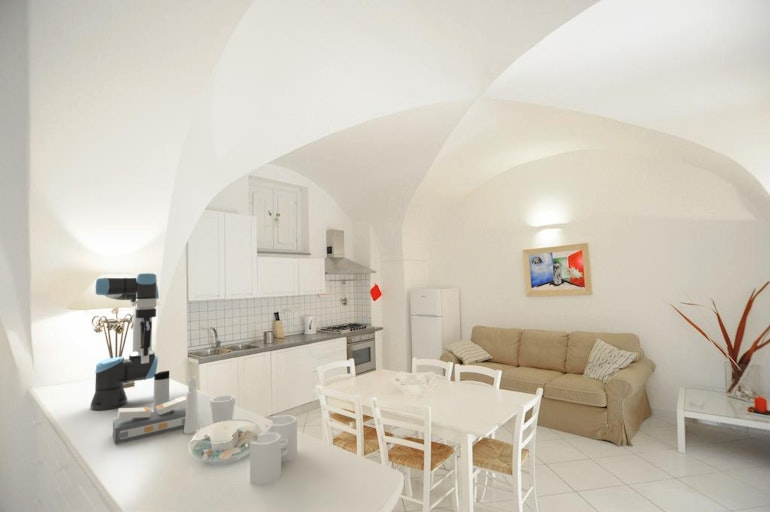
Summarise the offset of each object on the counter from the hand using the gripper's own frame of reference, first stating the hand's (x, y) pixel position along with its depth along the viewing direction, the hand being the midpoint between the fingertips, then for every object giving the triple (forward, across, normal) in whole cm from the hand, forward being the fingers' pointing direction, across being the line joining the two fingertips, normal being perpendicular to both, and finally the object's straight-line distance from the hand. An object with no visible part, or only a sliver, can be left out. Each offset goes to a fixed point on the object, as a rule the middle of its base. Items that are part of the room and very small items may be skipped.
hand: (145, 362), depth 165 cm
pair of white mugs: (+25, +73, +28) cm, 82 cm away
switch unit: (+27, +9, +2) cm, 28 cm away
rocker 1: (+19, +8, -5) cm, 21 cm away
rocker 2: (+19, +9, +9) cm, 23 cm away
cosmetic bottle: (+27, +21, +14) cm, 37 cm away
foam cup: (+26, +29, +24) cm, 46 cm away
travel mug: (+28, -11, +9) cm, 31 cm away
